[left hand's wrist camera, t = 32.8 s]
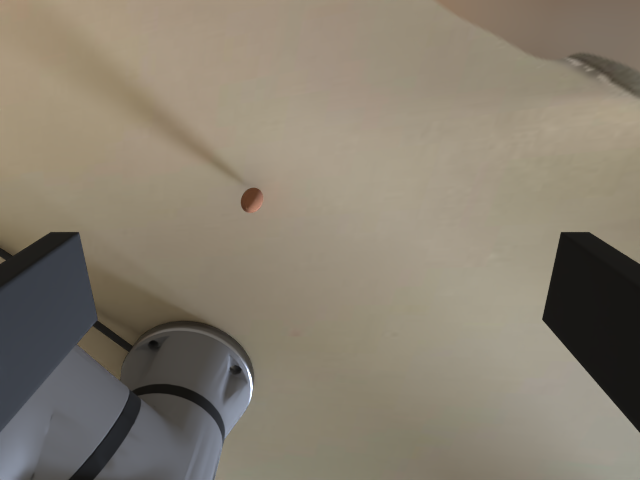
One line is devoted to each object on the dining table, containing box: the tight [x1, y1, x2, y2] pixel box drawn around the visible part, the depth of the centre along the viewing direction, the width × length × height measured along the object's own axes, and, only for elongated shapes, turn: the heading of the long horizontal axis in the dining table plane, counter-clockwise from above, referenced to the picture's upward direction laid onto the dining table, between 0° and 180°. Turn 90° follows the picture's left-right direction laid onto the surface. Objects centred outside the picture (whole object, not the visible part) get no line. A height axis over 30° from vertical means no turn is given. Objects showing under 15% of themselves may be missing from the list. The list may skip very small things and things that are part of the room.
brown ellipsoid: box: [241, 188, 263, 213], centre depth 43 cm, size 2×2×5 cm
